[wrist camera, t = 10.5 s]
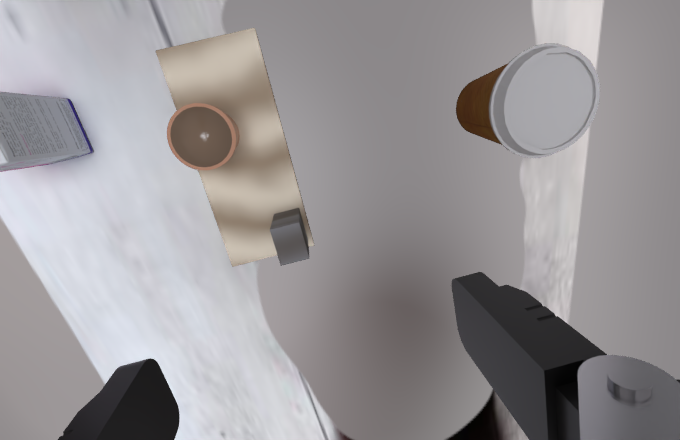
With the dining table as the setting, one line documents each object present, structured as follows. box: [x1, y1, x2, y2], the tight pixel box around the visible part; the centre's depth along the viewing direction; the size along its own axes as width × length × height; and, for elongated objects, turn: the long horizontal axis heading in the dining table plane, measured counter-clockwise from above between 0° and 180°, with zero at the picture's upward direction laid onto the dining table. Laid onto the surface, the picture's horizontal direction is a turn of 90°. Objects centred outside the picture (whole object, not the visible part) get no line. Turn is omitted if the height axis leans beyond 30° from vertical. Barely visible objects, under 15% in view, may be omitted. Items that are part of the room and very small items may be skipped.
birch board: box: [156, 28, 314, 267], centre depth 36 cm, size 24×10×7 cm, turn 13°
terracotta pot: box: [167, 103, 240, 170], centre depth 35 cm, size 6×6×6 cm
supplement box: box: [0, 92, 94, 172], centre depth 31 cm, size 6×6×12 cm
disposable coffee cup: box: [456, 43, 600, 158], centre depth 35 cm, size 10×10×12 cm
